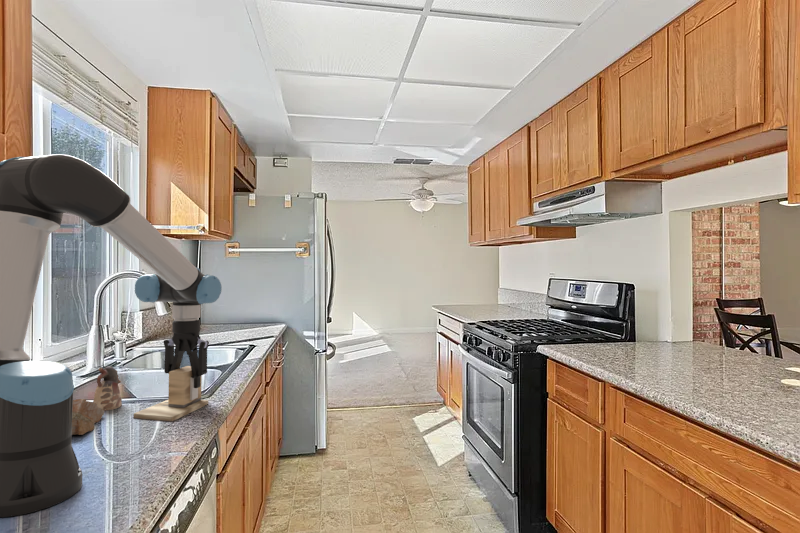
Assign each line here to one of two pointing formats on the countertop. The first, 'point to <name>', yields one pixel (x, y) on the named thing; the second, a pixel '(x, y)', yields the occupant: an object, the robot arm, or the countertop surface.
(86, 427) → the stone
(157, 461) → the countertop surface
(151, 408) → the board
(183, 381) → the block
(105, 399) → the figurine
